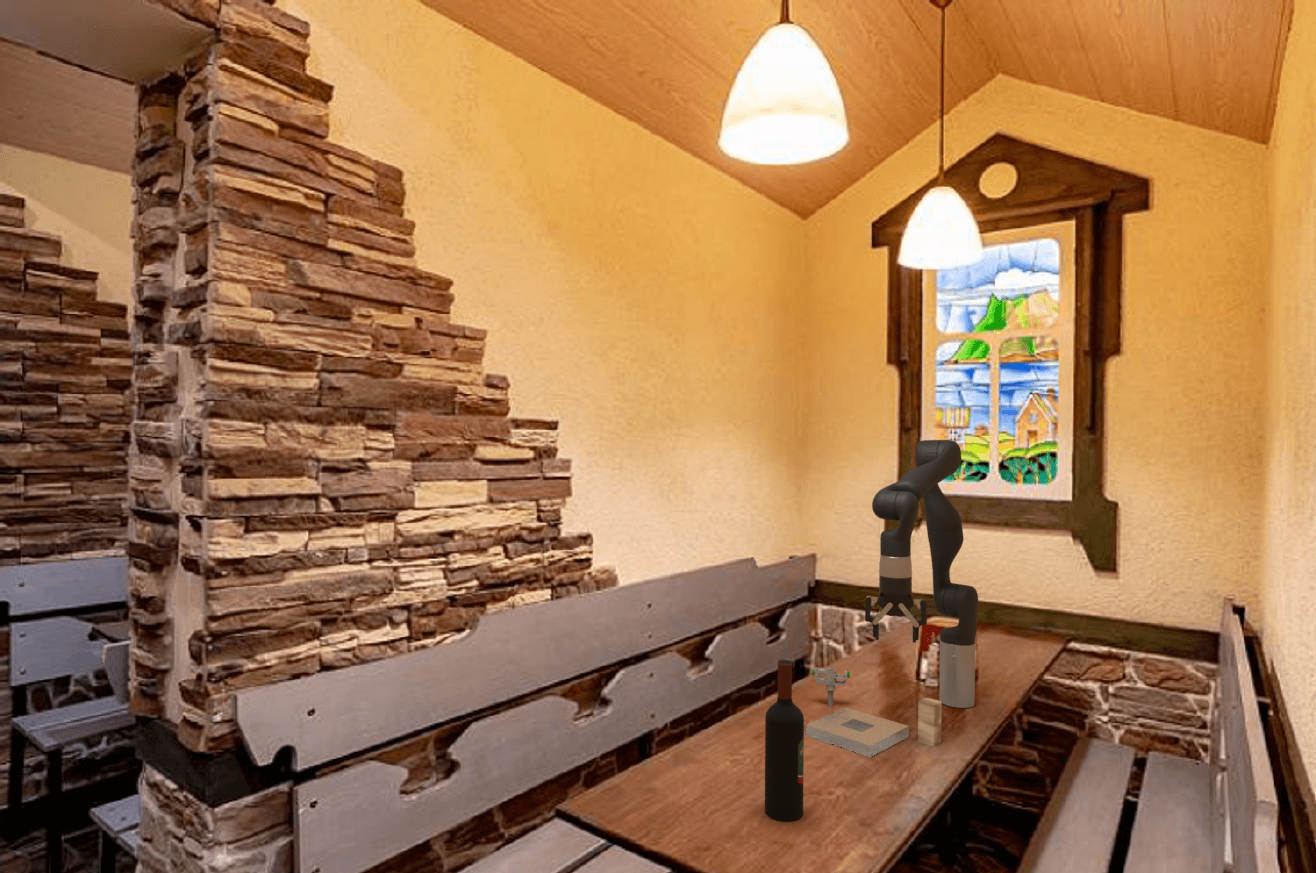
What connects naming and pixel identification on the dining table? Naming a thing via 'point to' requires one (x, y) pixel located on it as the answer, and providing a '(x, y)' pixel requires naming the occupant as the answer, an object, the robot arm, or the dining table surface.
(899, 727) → the square slotted board
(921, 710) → the wooden block
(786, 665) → the wine bottle
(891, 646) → the dining table surface
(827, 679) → the mechanical component
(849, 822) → the dining table surface
